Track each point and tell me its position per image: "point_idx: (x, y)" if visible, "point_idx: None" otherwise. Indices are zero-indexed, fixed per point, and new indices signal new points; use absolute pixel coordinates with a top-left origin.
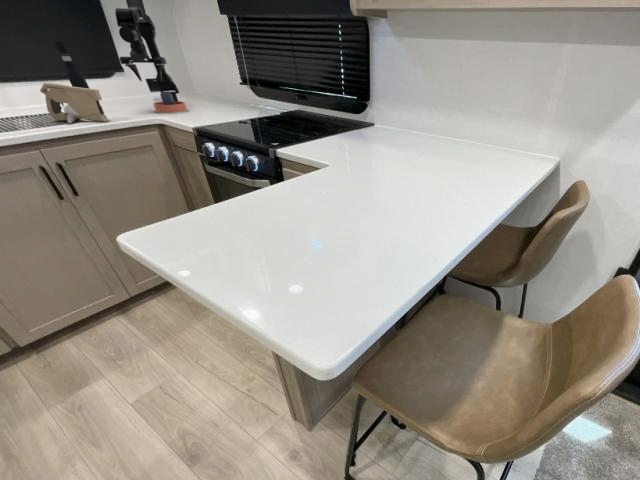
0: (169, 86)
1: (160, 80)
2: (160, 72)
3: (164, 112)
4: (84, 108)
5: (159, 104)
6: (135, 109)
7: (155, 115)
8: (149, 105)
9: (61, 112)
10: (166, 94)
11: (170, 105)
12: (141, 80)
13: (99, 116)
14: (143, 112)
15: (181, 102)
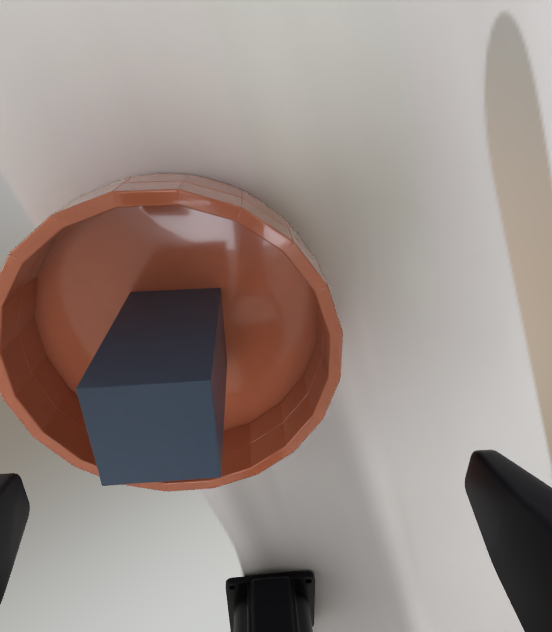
0: None
1: (1, 481)
2: None
3: (203, 178)
4: None
5: (302, 410)
6: (522, 454)
7: (274, 48)
8: (444, 599)
9: None
10: (120, 380)
11: (88, 200)
12: (471, 484)
13: None
14: (441, 293)
15: (85, 454)
